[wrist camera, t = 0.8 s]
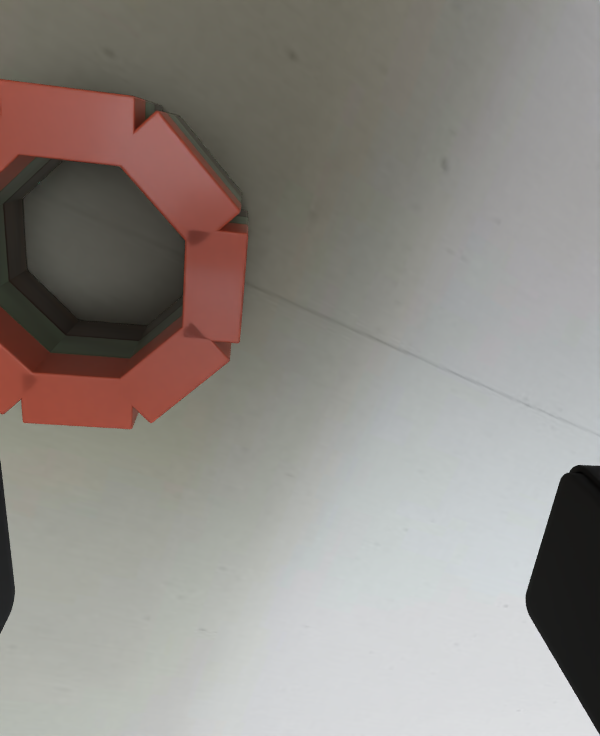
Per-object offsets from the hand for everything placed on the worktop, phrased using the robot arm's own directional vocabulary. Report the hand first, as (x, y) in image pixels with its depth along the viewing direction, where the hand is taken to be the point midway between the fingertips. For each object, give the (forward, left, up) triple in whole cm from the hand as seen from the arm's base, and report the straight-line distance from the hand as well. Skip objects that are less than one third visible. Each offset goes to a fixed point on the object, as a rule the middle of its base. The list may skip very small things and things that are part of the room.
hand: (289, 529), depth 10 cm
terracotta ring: (-1, -6, -13) cm, 15 cm away
